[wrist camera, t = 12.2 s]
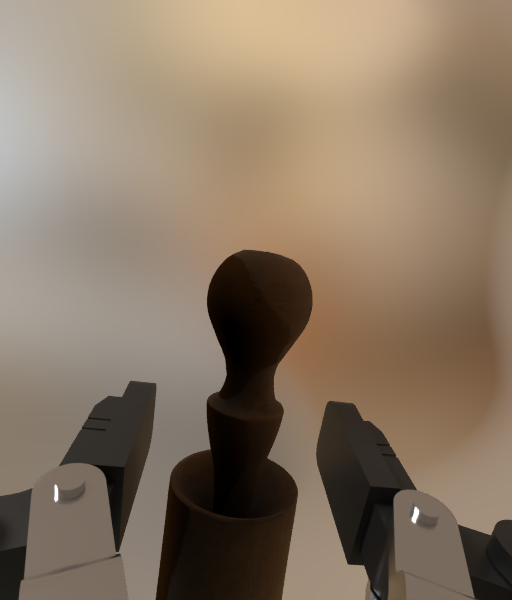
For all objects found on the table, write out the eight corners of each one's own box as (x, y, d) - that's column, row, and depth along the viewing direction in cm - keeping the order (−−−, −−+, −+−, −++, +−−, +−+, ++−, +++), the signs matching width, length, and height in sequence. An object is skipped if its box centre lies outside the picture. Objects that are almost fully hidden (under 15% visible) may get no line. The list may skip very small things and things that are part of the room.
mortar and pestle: (219, 661, 17) (277, 257, 16) (332, 835, 12) (432, 274, 11) (56, 767, 13) (112, 230, 12) (129, 1095, 8) (244, 239, 7)
